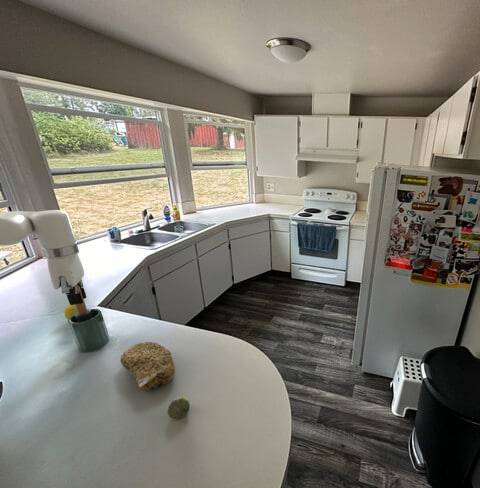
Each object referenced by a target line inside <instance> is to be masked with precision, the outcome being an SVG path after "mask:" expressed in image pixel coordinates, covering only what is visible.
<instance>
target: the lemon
mask: <svg viewBox="0 0 480 488" xmlns="http://www.w3.org/2000/svg"><path fill="white" fill-rule="evenodd" d="M63 313H64V317H65V319H66V320H68V319H69V318H70V317H71V316H73V315H74V314H76V313H77V310H76V307H75V305H70V304H68V305H67V306H66V307H65V308H64V312H63Z"/></svg>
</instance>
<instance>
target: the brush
mask: <svg viewBox="0 0 480 488" xmlns="http://www.w3.org/2000/svg"><path fill="white" fill-rule="evenodd" d="M77 288H78V292H80V293H81V290H80V287H79V285H77ZM69 289H73V287H72V288H69ZM81 296H82V293H81ZM82 299H83V296H82ZM75 307H76V310H77V313H76V314H75V317H76V320H77V323H79V322H84V321H87V320H90V319H92V318H93V316H92V313H91V310H90V309H91V308H90V309H89V308H87V304H86V302H85V299H83V303H82V304H76V305H75Z"/></svg>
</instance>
